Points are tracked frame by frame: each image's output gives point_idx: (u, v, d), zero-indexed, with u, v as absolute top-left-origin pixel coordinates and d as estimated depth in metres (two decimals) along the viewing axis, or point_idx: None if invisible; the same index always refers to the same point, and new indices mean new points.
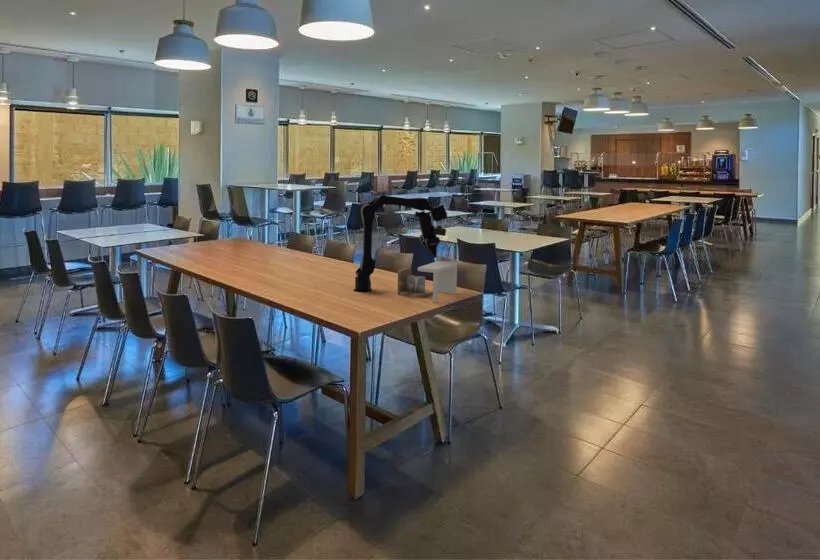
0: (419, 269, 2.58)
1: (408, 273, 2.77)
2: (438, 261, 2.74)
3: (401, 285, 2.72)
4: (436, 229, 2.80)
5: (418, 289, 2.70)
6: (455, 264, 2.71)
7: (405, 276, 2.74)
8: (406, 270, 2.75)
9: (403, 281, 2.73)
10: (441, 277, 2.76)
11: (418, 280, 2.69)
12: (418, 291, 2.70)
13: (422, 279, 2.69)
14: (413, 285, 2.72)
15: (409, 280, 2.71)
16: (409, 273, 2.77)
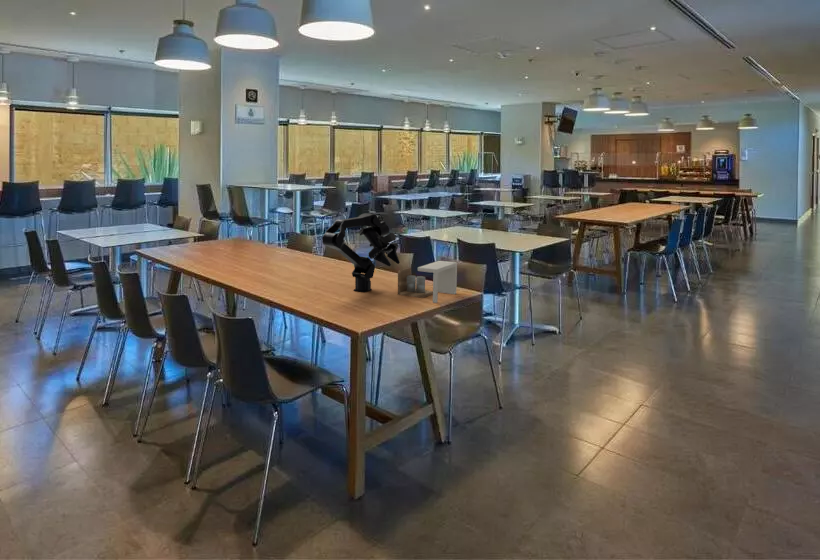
0: (419, 269, 2.58)
1: (408, 273, 2.77)
2: (438, 261, 2.74)
3: (401, 285, 2.72)
4: (381, 239, 2.75)
5: (418, 289, 2.70)
6: (455, 264, 2.71)
7: (405, 276, 2.74)
8: (406, 270, 2.75)
9: (403, 281, 2.73)
10: (441, 277, 2.76)
11: (418, 280, 2.69)
12: (418, 291, 2.70)
13: (422, 279, 2.69)
14: (413, 285, 2.72)
15: (409, 280, 2.71)
16: (409, 273, 2.77)
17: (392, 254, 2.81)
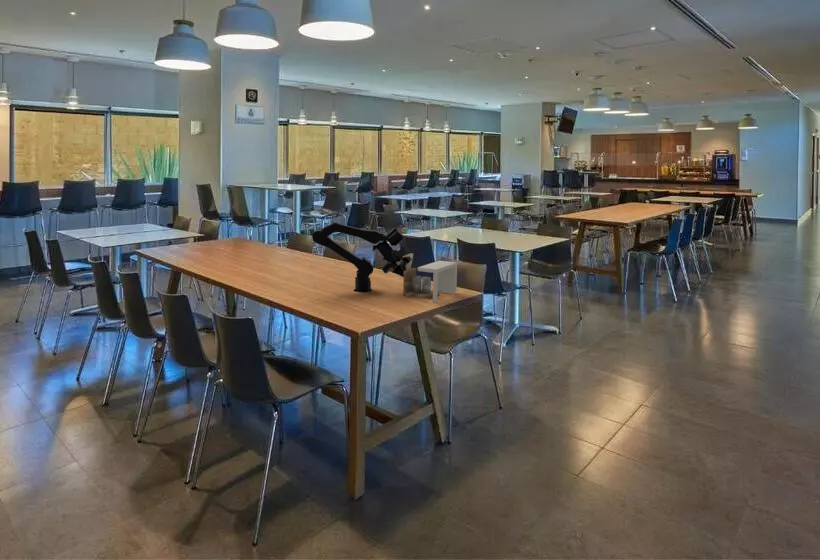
0: (419, 269, 2.58)
1: (414, 274, 2.75)
2: (438, 261, 2.74)
3: (407, 286, 2.70)
4: (394, 253, 2.73)
5: (424, 290, 2.69)
6: (455, 264, 2.71)
7: (411, 277, 2.73)
8: (412, 270, 2.73)
9: (409, 282, 2.72)
10: (441, 277, 2.76)
11: (424, 281, 2.68)
12: (424, 292, 2.69)
13: (428, 280, 2.68)
14: (419, 286, 2.71)
15: (415, 281, 2.70)
16: (415, 274, 2.76)
17: None
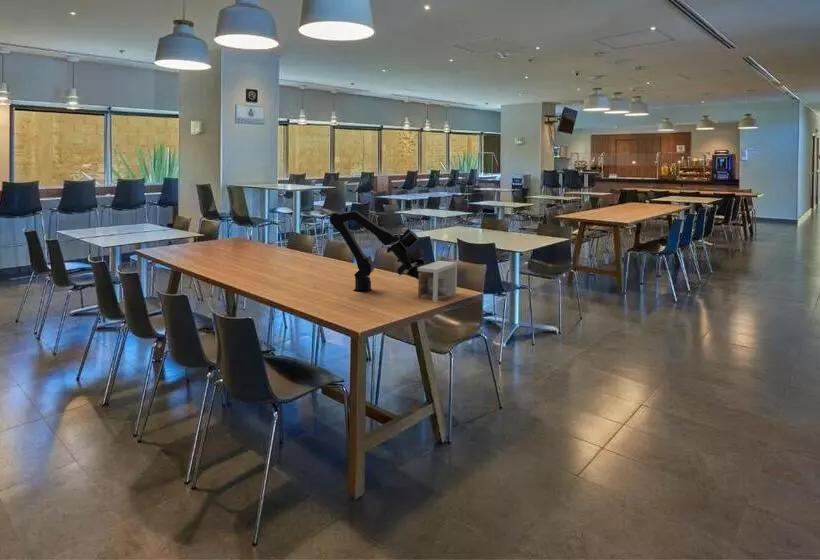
0: (419, 269, 2.58)
1: (428, 275, 2.71)
2: (438, 261, 2.74)
3: (422, 288, 2.67)
4: (409, 254, 2.69)
5: (439, 292, 2.65)
6: (455, 264, 2.71)
7: (426, 278, 2.69)
8: (427, 272, 2.69)
9: (424, 284, 2.68)
10: (441, 277, 2.76)
11: (439, 282, 2.64)
12: (439, 294, 2.65)
13: (443, 281, 2.64)
14: None
15: (430, 282, 2.66)
16: (429, 275, 2.72)
17: None
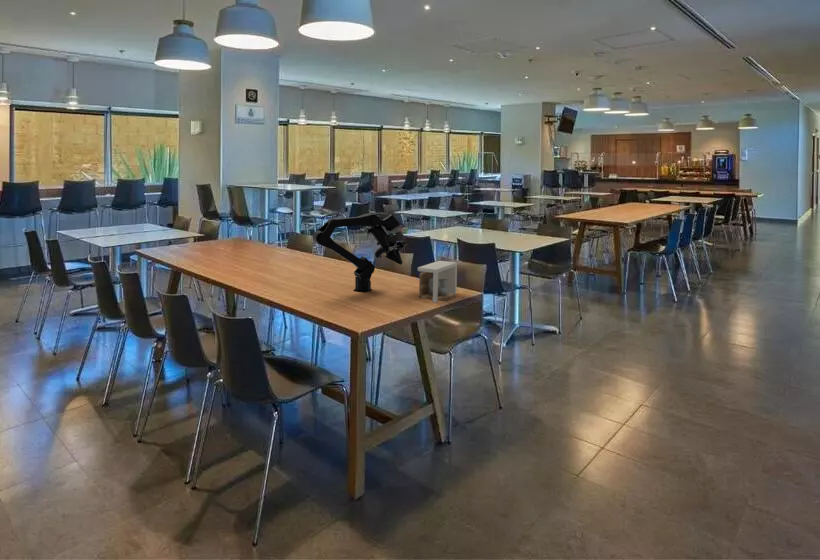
0: (419, 269, 2.58)
1: (429, 276, 2.71)
2: (438, 261, 2.74)
3: (423, 288, 2.66)
4: (388, 238, 2.73)
5: (440, 292, 2.65)
6: (455, 264, 2.71)
7: (427, 279, 2.69)
8: (428, 273, 2.69)
9: (425, 284, 2.68)
10: (441, 277, 2.76)
11: (440, 283, 2.64)
12: (440, 294, 2.65)
13: (444, 282, 2.64)
14: None
15: (431, 283, 2.66)
16: (430, 276, 2.72)
17: None
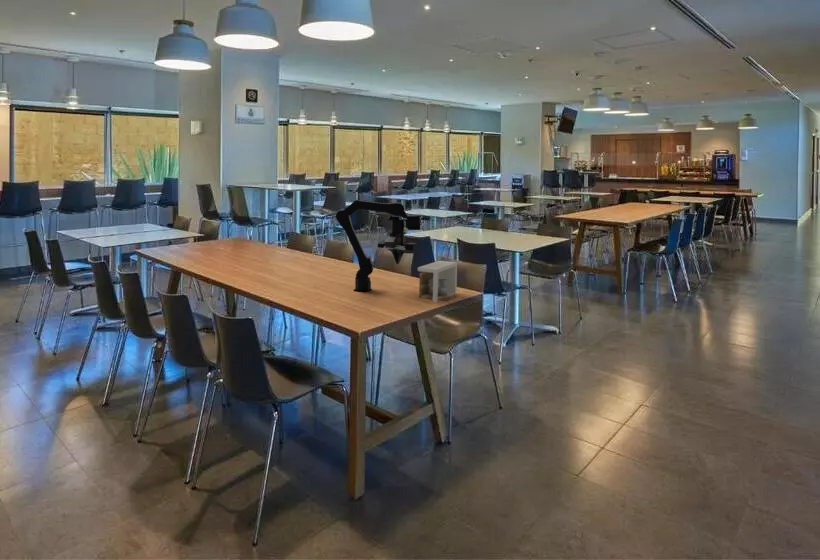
0: (419, 269, 2.58)
1: (429, 276, 2.71)
2: (438, 261, 2.74)
3: (423, 288, 2.66)
4: None
5: (440, 292, 2.65)
6: (455, 264, 2.71)
7: (427, 279, 2.69)
8: (428, 273, 2.69)
9: (425, 284, 2.68)
10: (441, 277, 2.76)
11: (440, 283, 2.64)
12: (440, 294, 2.65)
13: (444, 282, 2.64)
14: None
15: (431, 283, 2.66)
16: (430, 276, 2.72)
17: None
